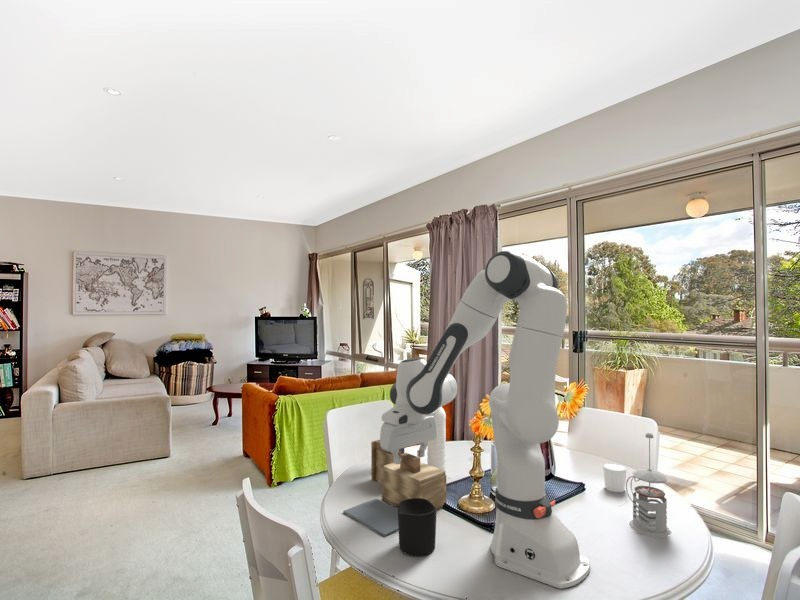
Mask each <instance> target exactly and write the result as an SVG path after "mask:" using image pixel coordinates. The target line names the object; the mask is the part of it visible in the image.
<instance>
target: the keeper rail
mask: <svg viewBox="0 0 800 600" xmlns="http://www.w3.org/2000/svg"><path fill="white" fill-rule="evenodd" d="M379 440H380V439H377V440H374V441H371V442H370V443H371V456H370V457H371V465H370V466H371V471H370V472H371V481H373V482H375V481H378V482H379V483H382V470H383V466H384V465H388V464H391V463H394V457H393V455H391V454H388V453H386V452H383V451H380V450H378V449H376V441H379ZM398 456H399V457H400V455H398Z"/></svg>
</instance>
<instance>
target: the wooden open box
mask: <svg viewBox="0 0 800 600" xmlns="http://www.w3.org/2000/svg"><path fill="white" fill-rule="evenodd" d="M410 498H423V499H426V500H428V501H430V502H431V503H432V504H433V505H434V507H435V508H437V511H439V510H442V509H444V508H443V505H444V503H446V504H447V474H445V476H442V477H440V478H437V479H435V480H432V481H429V482H427V483H424V484H422V485H418V484H416V483H413V482H411V481H408V480H406V479H404V478H401V477H399V476H396V475H394V474H392V473H389V472H387V471H384V470H382V482H381V501H383V502H385V503H387V504H389V505H391V506H393V507H395V508H398V505H399V503H400V502H401V501H403V500H406V499H410Z"/></svg>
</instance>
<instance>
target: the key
mask: <svg viewBox="0 0 800 600" xmlns="http://www.w3.org/2000/svg"><path fill="white" fill-rule="evenodd" d="M378 440H379V441H376V440H375V441H376V449H378V450H380V451H383V452H386V453H388V454H391V455H392V453H391V452H388V451H386V450H383V449H382V448H381V446H380V439H378ZM400 454H401V449H399V453H398V455H400Z"/></svg>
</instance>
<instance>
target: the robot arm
mask: <svg viewBox="0 0 800 600" xmlns="http://www.w3.org/2000/svg"><path fill="white" fill-rule="evenodd" d="M512 300H515V301H516V302H517V303H518V306H519V313H518V317H517V321H516V326H515V329H514V334H513V337H512V342H511V347H510V351H509V356H508V362H509V382H506V383H504V382H503V383H501V384H499V385H497V386H495V387H494V388H493V390H492V391H491V392H490V395H489V399H488V404H489V408H490V414H491V420H492V421H491V423H492V430H493V438H494V444H495V451H496V473H497V474H496V488H495V494H494V495H495V496H494V497H495V498H494V499H495V501H494V502H495V508H496V515H495V522H494V531H493V535H492V539H491V543H490V545H489V547H490V548H489V549H490V551H491V553H492V555H493V557H494V564H495V566H497V567H499V568H502V569H505V570H508V571H511V572H513V573H516V574H518V575H521V576H524V577H527V578H529V579H532V580H535V581H538V582H539V583H540V582H541V583H544V584H546V585H549V586H551V587H554V588H557V589H566V588H570V587H574V586H576V585H577V584H579V583H581V582H582V581H584V579H585V578H587V577H588V575H589V574H590V572H591V562H590V559H589V558H587V557H585V556H584V555H582V554H581V553H580V548H579V543H578V539H577V537H576V536H575V534H574V533H573V532H572V531H571V530H569V528H568V527H567V526H566V525H565V524H564V523H563V522H562V520H560V519H559V517H557V515H556V514H554V512H553V507H555V506H556V500H555V499H554V500H552V501H550V500H549V498H548V494H547V492H546V469H545V467H546V463H545V461H546V460H545V457H544V455H543V453H542V448H541V444H544V443H546V442H548V441H550V440H551V439H552V438H553V437H554V436H555V435H556V434H557V431H558V429H559V424H560V420H559V415H558V412H557V408H556V371H557V365H558V360H559V356H560V351H561V347H562V343H563V342H562V341H563V337H564V334H565V328H566V321H567V309H568V307H567V303H568V302H567V300H568V299H567V298H566V296H565V295H564V293H563V292H562V291H561V290H559V283H558V279H557V276H556V274H555V273H554V272H553V271H552V270H551V269H550V267H547V266H546V265H542V264H541V263H539V262H538V261H536V260H535V259H534V258H531V257H530V256H526V255H523V254H520V253H518V252H516V251H512V250H511V251H510V250H502V251H498V252H496V253H494V254H493V255H492V256H491V257H490V258H489V260H488V261H487V263H486V265H485V267H484V269H482V270H481V271H479V272H478V273H477V274H475V276H474V278H473V279H472V280H471V282H470V283H469V285H468V286H467V288H466V290H465V291H464V293H463V295H462V297H461V299H460V301H459V302H458V305H457V307H456V309H455V311H454V313H453V316H452V317H451V319H450V321H449V323H448V325H447V327H446V329H445V331H444V333H443V334H442V336H441V338H440V339H439V341H438V342H437V344H436V346H435V348H434V349H433V351H432V353H431V355H430V357H429V358H428V360H427V361H426V360H425V359H424V358H421V357H415V358H414V357H413V358H409V359H408V358H407V359H404V360H402V361H400V362H399V363H398V366H397V368H396V369H397V371H396V380H395V381H396V382H395V383H396V390H397V399H396V405H394V406H393V407H391V408H390V409H388V410H387V411H386V412H384V413H383V414H382V415H381V421H382V422H383V423H382V425H381V427H380V434H379V435H380V436H379V440H380V446H381V448H382V449H383V450H386V451H388V452H391V453H392V455H393V457H394V464H400V463H401V460H402V458H401V457H399V456H398V453H399V449H402V448H404V449H405V448H408V447H413V446H415V445H416V446H417V445H420V446H419V448H418V450H416V456H417V457H419V458H420V459H421V458H423V457H425V454H426V453H425V452H426V450H427V448H428V446H427V445H428V441H431V440H435V439H436V437H437V425H436V419H435V412H434V411H435V410H437V409H438V408H440V407H442V408H443V407H444V406H445V405H446V406H447V404H449V403H451V402H452V401H453V400H455V399H456V397H457V396H458V391H459V386H458V382H457V380H456V378H455V376H453V374H451V373H450V371H451V370H452V368H453V366H454V365H455V363H456V362H457V359H458V358H459V357H460V356H461V355H462V353H463V352H464V351H466V349H468V348H470V347H471V346H472V345H474V344H476V343H477V342H479V341H481V340H483V339H484V338H485V337H486V336H487V335H488V334H489V332H490V331H491V330H492V329H493V326H494V325H495V323H496V322H497V319H498V317H499V315H500V313H501V311H502V309H503V308H504V306H505V305H506V303H508V302H510V301H512Z"/></svg>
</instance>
